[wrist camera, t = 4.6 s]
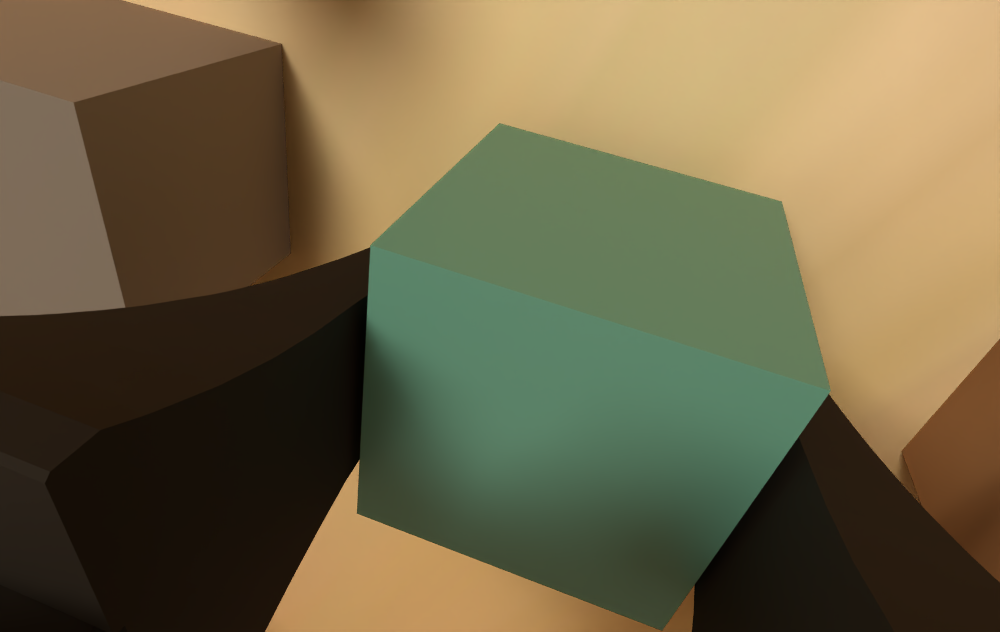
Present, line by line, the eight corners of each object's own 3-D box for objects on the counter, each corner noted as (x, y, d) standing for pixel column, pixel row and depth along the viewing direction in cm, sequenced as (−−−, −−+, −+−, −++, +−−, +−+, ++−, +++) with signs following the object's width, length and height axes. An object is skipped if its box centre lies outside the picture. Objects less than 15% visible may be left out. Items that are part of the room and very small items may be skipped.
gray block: (284, 43, 12) (73, 102, 8) (292, 251, 15) (141, 371, 11) (77, -13, 13) (-213, 15, 9) (123, 197, 16) (-77, 290, 12)
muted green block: (781, 201, 10) (830, 390, 6) (677, 410, 13) (662, 630, 9) (499, 123, 10) (370, 245, 6) (461, 338, 13) (356, 513, 9)
